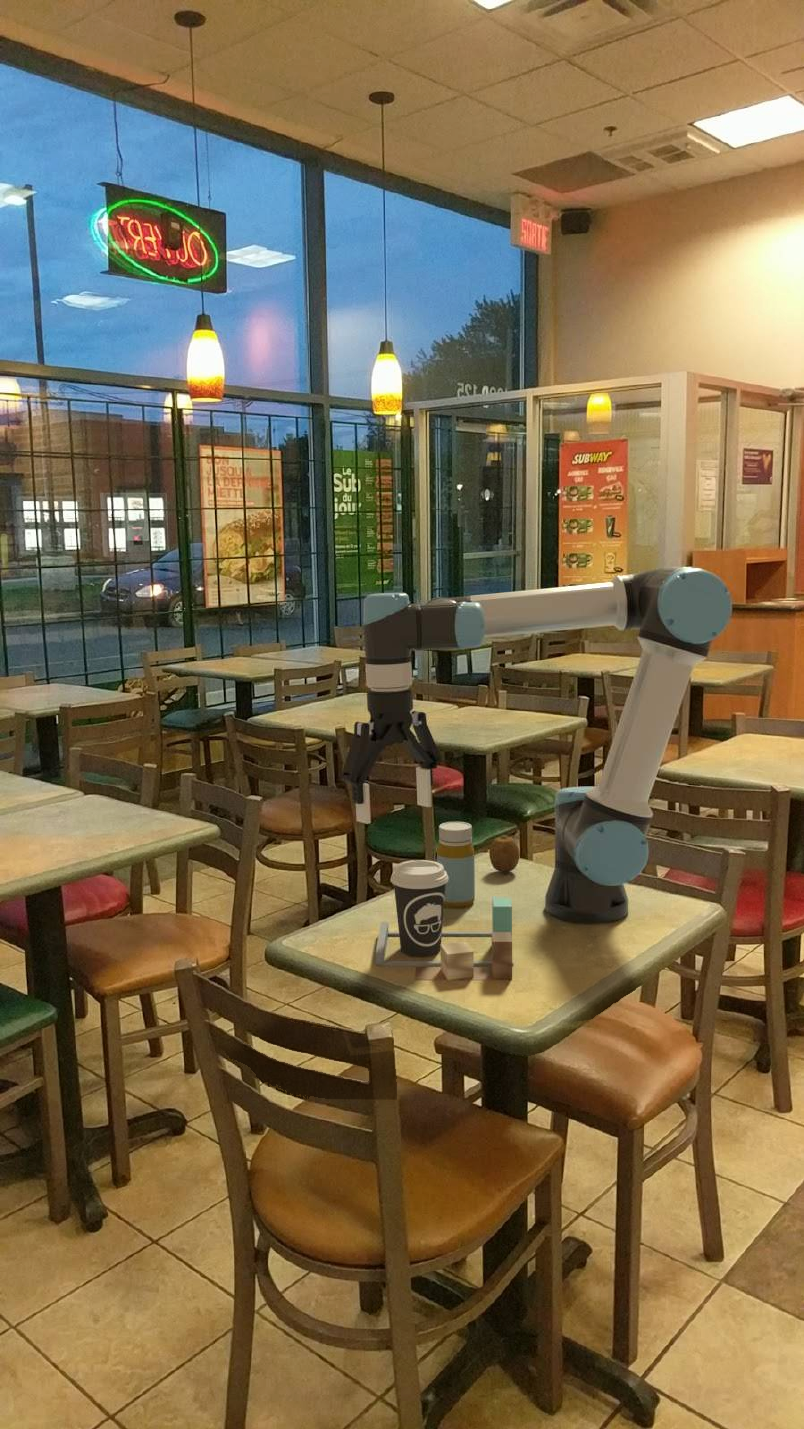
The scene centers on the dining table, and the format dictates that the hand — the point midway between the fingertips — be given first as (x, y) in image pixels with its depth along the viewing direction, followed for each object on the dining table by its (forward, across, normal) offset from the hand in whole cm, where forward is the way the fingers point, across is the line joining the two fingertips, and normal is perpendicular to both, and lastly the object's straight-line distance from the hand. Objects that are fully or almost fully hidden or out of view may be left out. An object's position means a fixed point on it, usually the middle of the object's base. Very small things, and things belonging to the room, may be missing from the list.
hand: (394, 813), depth 176 cm
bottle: (+23, -21, -8) cm, 33 cm away
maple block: (+22, +3, +17) cm, 28 cm away
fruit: (+24, -41, -14) cm, 49 cm away
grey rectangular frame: (+23, -2, +8) cm, 25 cm away
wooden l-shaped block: (+23, +2, +18) cm, 29 cm away
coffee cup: (+23, 0, +6) cm, 24 cm away
